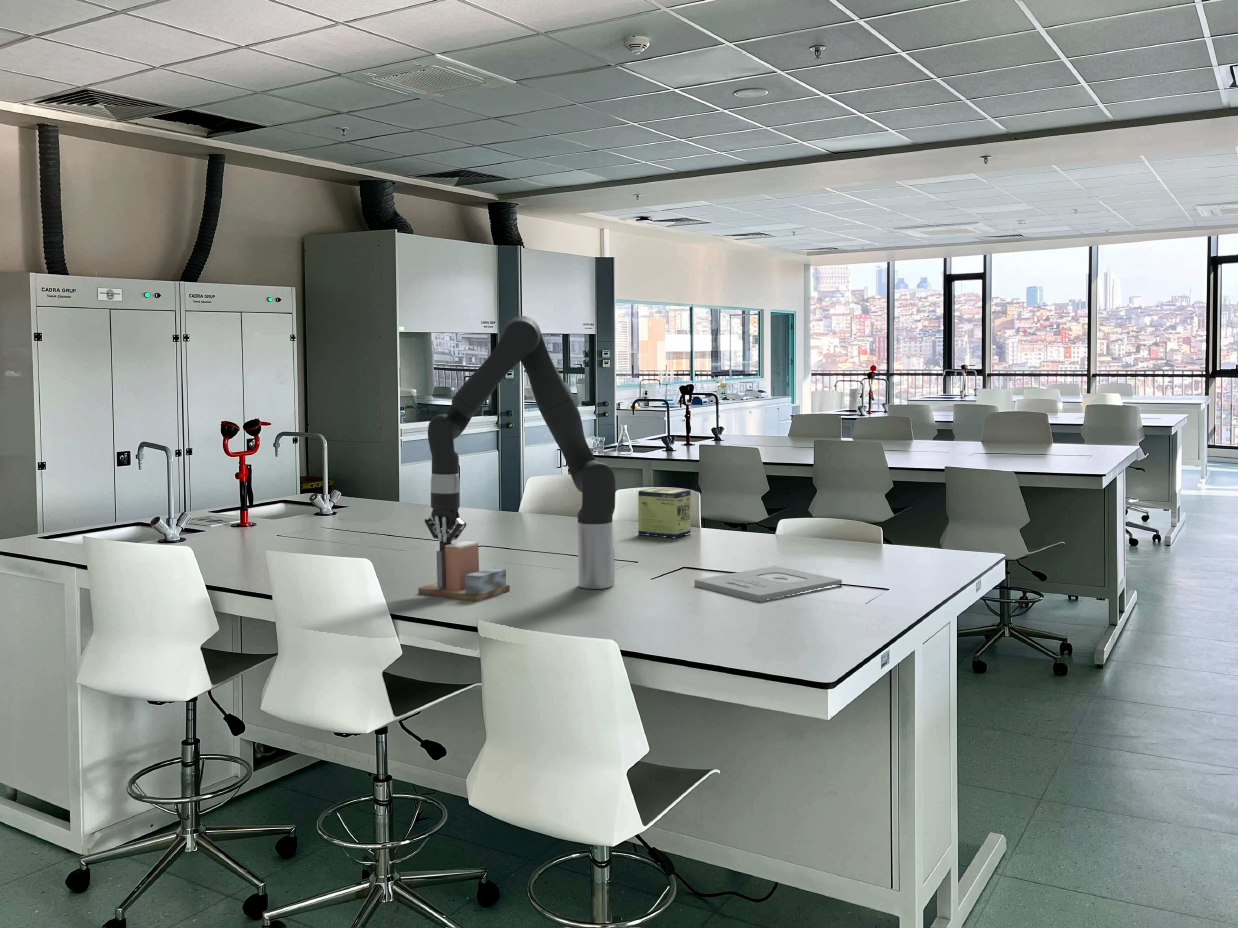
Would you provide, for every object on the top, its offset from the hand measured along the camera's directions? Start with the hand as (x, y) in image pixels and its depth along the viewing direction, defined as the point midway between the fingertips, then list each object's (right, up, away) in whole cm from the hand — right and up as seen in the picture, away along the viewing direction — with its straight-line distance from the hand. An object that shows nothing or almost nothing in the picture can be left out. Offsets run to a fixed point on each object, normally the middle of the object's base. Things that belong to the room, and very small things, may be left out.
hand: (445, 555), depth 274 cm
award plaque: (+85, -9, +1) cm, 86 cm away
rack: (+5, -9, -3) cm, 11 cm away
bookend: (+2, -7, -1) cm, 8 cm away
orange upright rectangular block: (+5, -8, -3) cm, 10 cm away
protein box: (+62, -1, +87) cm, 106 cm away
